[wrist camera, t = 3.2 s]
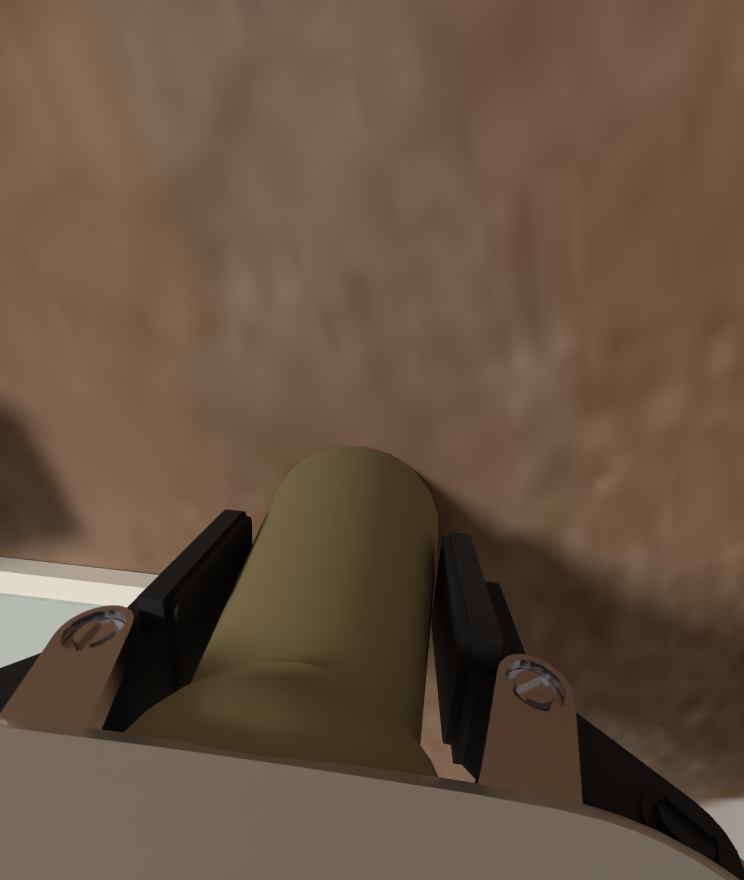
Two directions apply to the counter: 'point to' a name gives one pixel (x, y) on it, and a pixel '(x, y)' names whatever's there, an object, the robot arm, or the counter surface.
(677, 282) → the counter surface
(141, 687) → the robot arm
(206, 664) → the olive rounded tall piece
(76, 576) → the plate
